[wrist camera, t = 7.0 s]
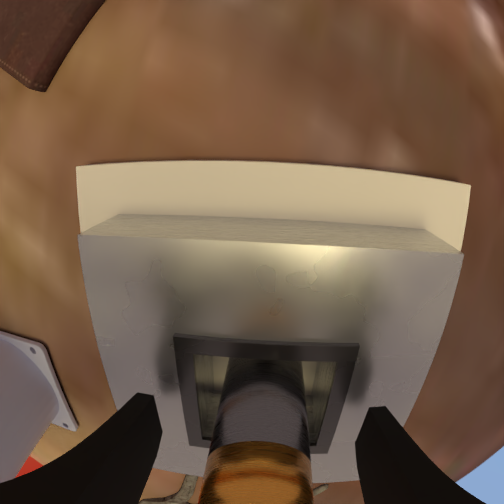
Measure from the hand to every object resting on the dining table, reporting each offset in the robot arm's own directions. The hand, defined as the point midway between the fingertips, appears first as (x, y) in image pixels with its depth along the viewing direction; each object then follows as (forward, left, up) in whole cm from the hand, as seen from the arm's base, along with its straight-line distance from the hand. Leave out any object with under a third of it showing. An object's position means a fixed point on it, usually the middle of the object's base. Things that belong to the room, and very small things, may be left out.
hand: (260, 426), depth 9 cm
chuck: (0, 0, -5) cm, 5 cm away
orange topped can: (0, 0, -4) cm, 4 cm away
